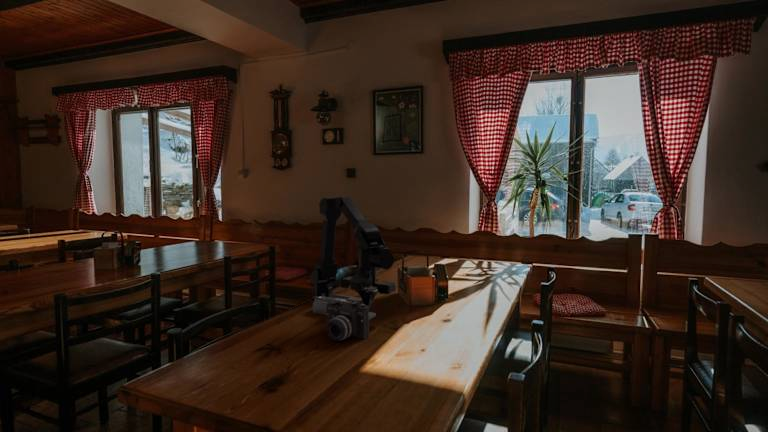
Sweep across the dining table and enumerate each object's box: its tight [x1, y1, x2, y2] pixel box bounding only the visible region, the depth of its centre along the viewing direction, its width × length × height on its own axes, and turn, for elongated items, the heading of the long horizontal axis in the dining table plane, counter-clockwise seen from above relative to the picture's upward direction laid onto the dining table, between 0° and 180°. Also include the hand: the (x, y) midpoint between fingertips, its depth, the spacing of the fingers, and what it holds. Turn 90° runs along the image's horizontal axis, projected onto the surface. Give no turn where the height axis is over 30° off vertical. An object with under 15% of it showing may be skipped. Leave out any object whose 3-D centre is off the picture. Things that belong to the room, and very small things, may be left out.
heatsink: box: [312, 292, 357, 316], centre depth 158 cm, size 15×10×5 cm, turn 62°
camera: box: [326, 299, 370, 342], centre depth 133 cm, size 14×11×10 cm
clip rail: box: [369, 311, 377, 321], centre depth 154 cm, size 8×5×1 cm, turn 62°
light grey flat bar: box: [319, 296, 349, 303], centre depth 158 cm, size 14×2×1 cm, turn 62°
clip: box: [346, 296, 363, 306], centre depth 155 cm, size 5×4×4 cm
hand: (367, 310), depth 153 cm, fingers closed
